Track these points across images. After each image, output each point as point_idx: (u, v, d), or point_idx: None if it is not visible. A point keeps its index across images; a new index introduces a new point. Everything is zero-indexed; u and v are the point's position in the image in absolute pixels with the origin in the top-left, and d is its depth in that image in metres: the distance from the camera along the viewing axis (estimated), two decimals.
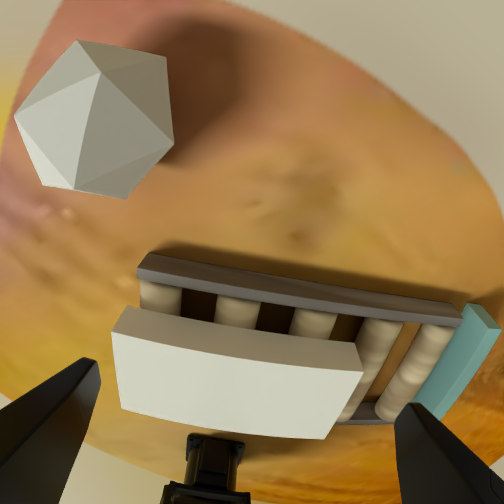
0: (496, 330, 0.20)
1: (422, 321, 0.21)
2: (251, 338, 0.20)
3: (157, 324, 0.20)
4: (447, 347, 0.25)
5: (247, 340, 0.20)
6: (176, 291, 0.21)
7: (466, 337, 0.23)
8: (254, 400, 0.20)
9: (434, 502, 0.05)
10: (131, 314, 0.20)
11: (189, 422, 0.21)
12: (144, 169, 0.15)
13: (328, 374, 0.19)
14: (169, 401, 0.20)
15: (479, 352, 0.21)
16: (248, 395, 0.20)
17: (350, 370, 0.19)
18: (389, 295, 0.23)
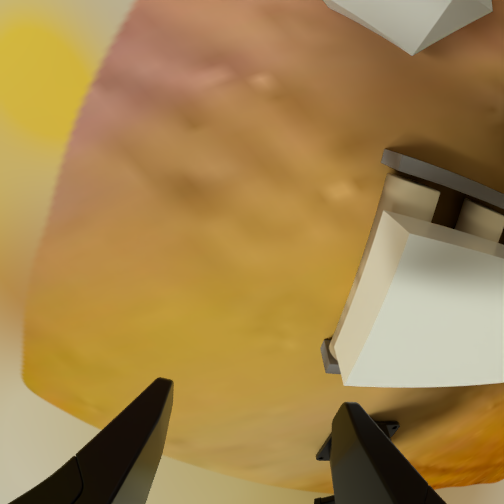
0: None
1: None
2: None
3: (439, 231, 0.13)
4: None
5: None
6: (439, 194, 0.14)
7: None
8: None
9: None
10: (402, 218, 0.13)
11: (432, 383, 0.14)
12: (463, 23, 0.09)
13: None
14: (430, 352, 0.13)
15: None
16: None
17: None
18: None
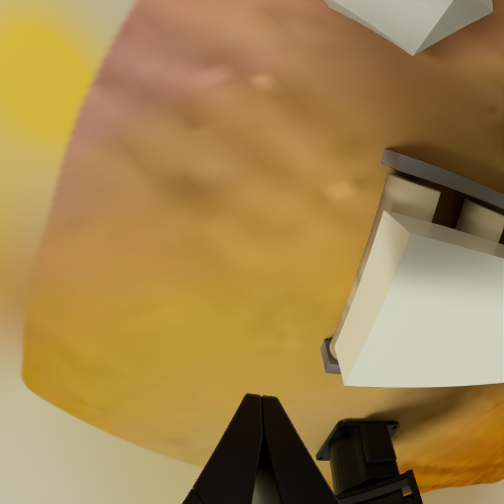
0: None
1: None
2: None
3: (440, 231, 0.13)
4: None
5: None
6: None
7: None
8: None
9: None
10: (402, 218, 0.13)
11: (433, 383, 0.14)
12: (464, 23, 0.09)
13: None
14: (430, 352, 0.13)
15: None
16: None
17: None
18: None
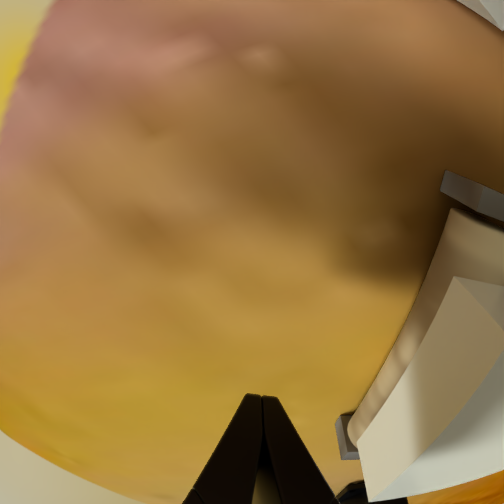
0: None
1: None
2: None
3: None
4: None
5: None
6: None
7: None
8: None
9: None
10: (483, 293, 0.07)
11: (474, 477, 0.08)
12: None
13: None
14: (482, 455, 0.08)
15: None
16: None
17: None
18: None
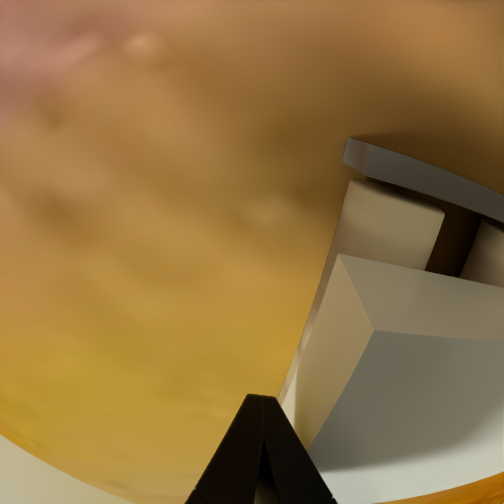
0: None
1: None
2: None
3: (445, 296, 0.07)
4: None
5: None
6: (443, 217, 0.08)
7: None
8: None
9: None
10: (371, 275, 0.07)
11: (407, 495, 0.08)
12: None
13: None
14: (405, 473, 0.07)
15: None
16: None
17: None
18: None
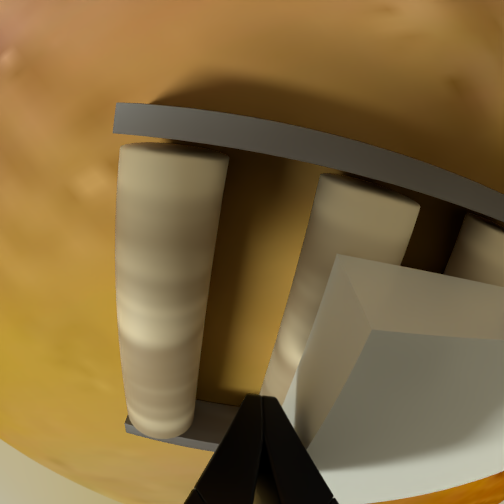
0: None
1: None
2: None
3: (444, 295, 0.07)
4: None
5: None
6: (215, 165, 0.08)
7: None
8: None
9: None
10: (370, 274, 0.07)
11: (408, 494, 0.08)
12: None
13: None
14: (405, 472, 0.07)
15: None
16: None
17: None
18: None
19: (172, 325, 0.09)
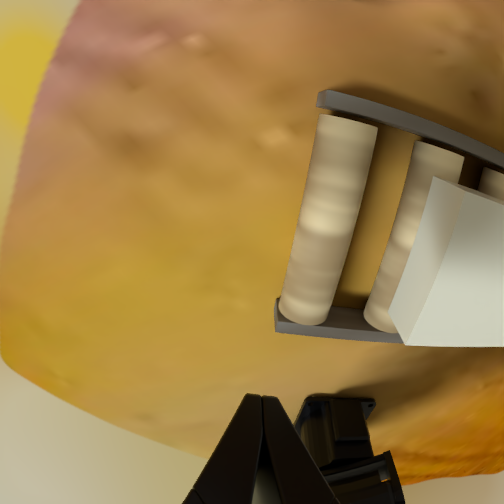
0: None
1: None
2: None
3: (482, 194, 0.13)
4: None
5: None
6: (377, 129, 0.14)
7: None
8: None
9: None
10: (451, 182, 0.13)
11: (479, 342, 0.14)
12: None
13: None
14: (479, 309, 0.13)
15: None
16: None
17: None
18: None
19: (348, 218, 0.15)
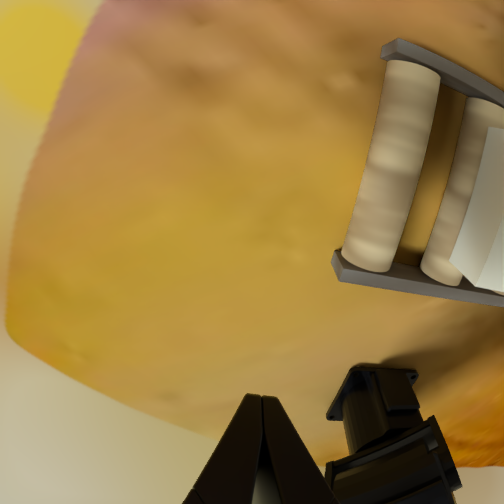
0: None
1: None
2: None
3: None
4: None
5: None
6: (440, 79, 0.13)
7: None
8: None
9: None
10: None
11: None
12: None
13: None
14: None
15: None
16: None
17: None
18: None
19: (419, 158, 0.14)
